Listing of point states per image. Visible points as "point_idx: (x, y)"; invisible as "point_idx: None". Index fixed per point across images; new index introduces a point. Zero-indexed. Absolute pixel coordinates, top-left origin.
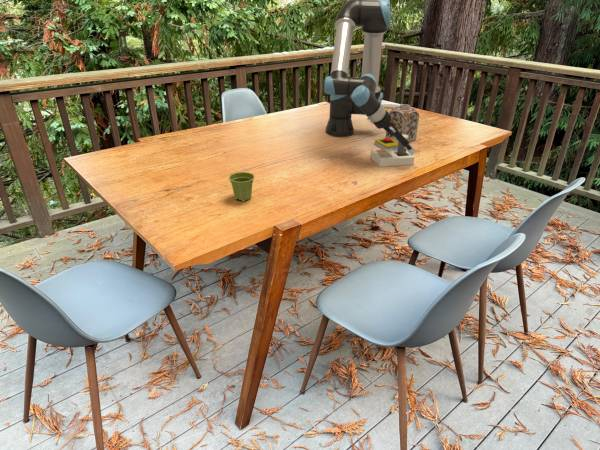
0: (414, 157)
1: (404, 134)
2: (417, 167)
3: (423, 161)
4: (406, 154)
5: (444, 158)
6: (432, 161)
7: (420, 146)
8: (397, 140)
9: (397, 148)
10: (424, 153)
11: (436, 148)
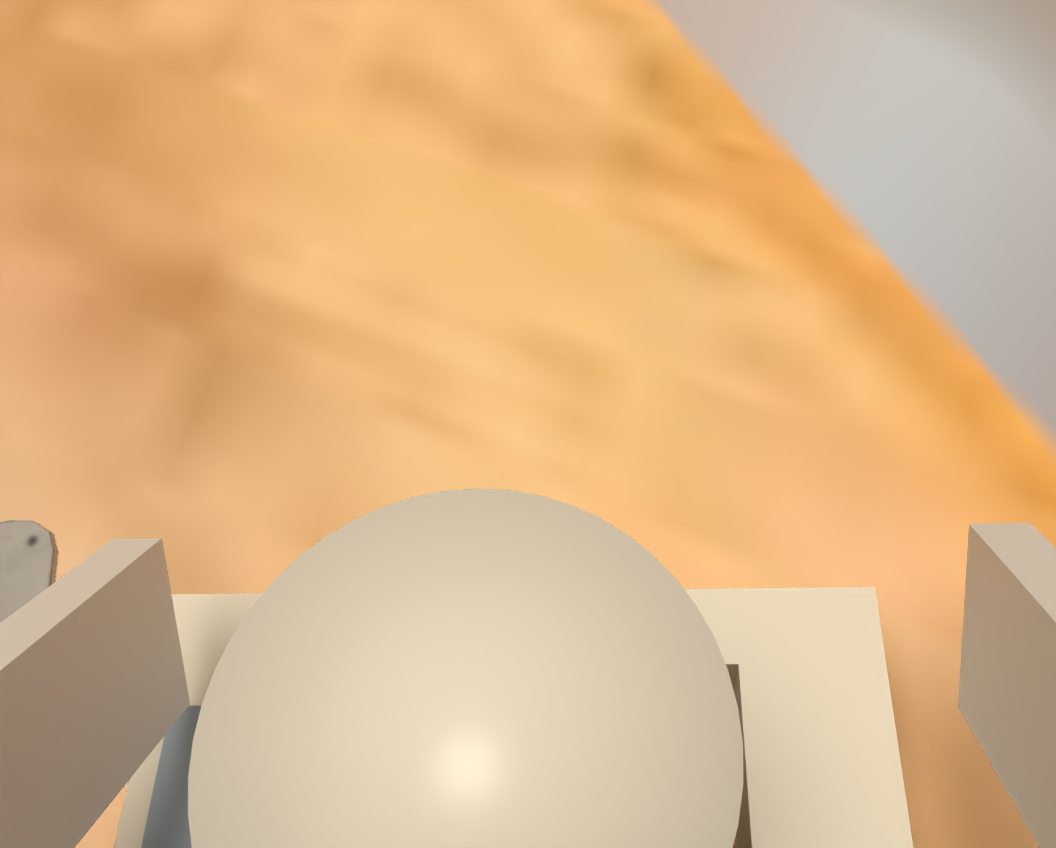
0: (875, 593)
1: (283, 612)
2: None
3: (685, 383)
4: None
5: (607, 46)
6: (709, 241)
7: (9, 181)
8: (42, 817)
9: (167, 799)
10: (314, 230)
11: (190, 18)
